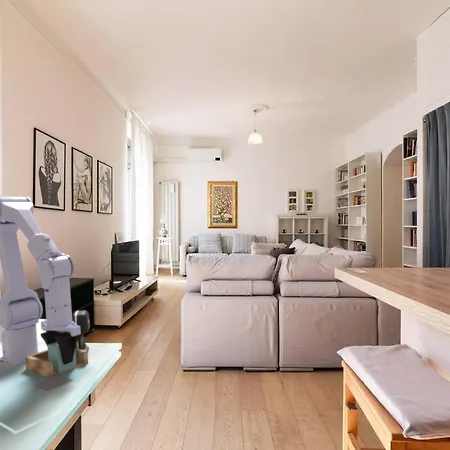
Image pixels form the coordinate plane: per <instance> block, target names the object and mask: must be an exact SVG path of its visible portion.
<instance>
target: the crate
mask: <svg viewBox="0 0 450 450" xmlns="http://www.w3.org/2000/svg"><path fill="white" fill-rule="evenodd" d="M38 352H39V353H36V354H33V355H30V356H26V357H25V360H26V361H25V369H26V370H28V371H30V372H33V373H34V374H35V373H36V374H38V375H40V376H44V377H46V378H48V379H50V378H52V377H55V376H57V375H61V374H64V373H66V372H69V371H72V370H74V369H77V368H79V367H82V366H85V365H87V364H88V363H89V352H88V353H87V351H86V350H82V349H78V348H75V352H76V367H73V368H70V369H68V370H65V371H62V372H60V373H58V372H55V371H53V363H50V362H49V360H48V349H45V350H42V351H38Z"/></svg>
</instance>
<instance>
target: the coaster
mask: <svg viewBox="0 0 450 450" xmlns="http://www.w3.org/2000/svg"><path fill="white" fill-rule="evenodd" d="M73 381H74V380H73V379H71V378H69V377H66V376H63V375H61V374H58V375H56V376H53V377H51V378H48V379H45V380H42V381H40V382H38V383H35V384H33V386H34V387H35V388H36V387H37V388H39V389H41V390H43V391H46V392H48V391H50V390H53V389H56V388H59V387H61V386H62V385H65V384H68V383H70V382H73Z"/></svg>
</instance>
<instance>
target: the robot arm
mask: <svg viewBox="0 0 450 450" xmlns="http://www.w3.org/2000/svg"><path fill="white" fill-rule="evenodd" d="M34 210H35V209H34V204H33V200H31V198H30V197H29V196H28V195H25V196H24V195H23V196H10V195H9V196H4V195H3V196H0V266H1V271H2V276H3V281H4V286H5V292H4V293H3V294H2V295H1V296H0V327H1V328H3V330H2V333H1V348H2V349H1V351H2V356H0V361H2V362H6V363H9V364H11V365H19V364H21V363H26V360H25V357H26V356H30V355H33V354H36V353H39V352H40V351H39V348H38V345H39V344H38V335H37V334H38V333H37V332H38V331H37V330H38V329H37V324H38V323H39V320H40V319H41V318H42V315H43V311H44V309H43V305H42V302H41V301H40V299H39V295H38V293H37V292H36V291H35V290H33V289H31V288H29V287H28V284H27V280H26V274H25V270H24V269H25V268H24V265H23V261H22V260H23V259H22V254H21V249H20V244H19V239H18V235H17V233H18V230H20V231H21V232H22V233H23V235H24V236H25V238H27V240H28V242H27V246H26V247H27V249H28V250H29V252H30V253H31V255H32V258H33V259H34V261H36V263H37V265H38V266H37V270H36V271H37V275H38V277H39V279H40V284H41V289H44V290H43V291H44V302H45V306H44V307H45V317H46V319H45V320H42V321H40V329H41V331H44V332H42V333H40V337H41V339H42V340H43V341H44V343H45V345H46V347H47V348H48V346H47V345H48V344H51V343H55V342H57V343H58V345H59V348H60V351H61V357H62V361H63V364H68V363H71V362H73V357H74V352H75V347H76V344H77V342H78V339H79V337H80V336H81V330H80V326H78V325H76V324H75V323H74V322H73V321H72V317H73V313H72V312H73V311H72V298H71V285H70V284H71V283H70V278H72V276H73V274H74V269H75V267H74V266H75V265H74V262H73V260H72V258H71V256H70V255H69V254H65V253H64V252H61V251H60V249H59V247H58V246H57V245H56V243H55V241H53V239H52V237H51V236H50V235H48V234H47V233H43V232H42V230H41V228H40V226H39V224H38V222H37V220H36V218H35V216H34Z"/></svg>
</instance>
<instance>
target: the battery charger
mask: <svg viewBox="0 0 450 450" xmlns="http://www.w3.org/2000/svg"><path fill="white" fill-rule="evenodd" d="M72 321H73V322H74V323H75V324H76V325H78V326H80V330H81V336H80V337H79V339H78V342H77V344H76V347H75V348H78V349H82V350H86V351H87V353H88V354H89V350H90V346H88V345H87V343H86V342H85V340H84V338H85V337H84V334H85V333H89V330H90V328H91V323H90V322H91V321H90V313H89V311H87V310H85V309H84V310H76V311H74V312H73V313H72Z"/></svg>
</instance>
